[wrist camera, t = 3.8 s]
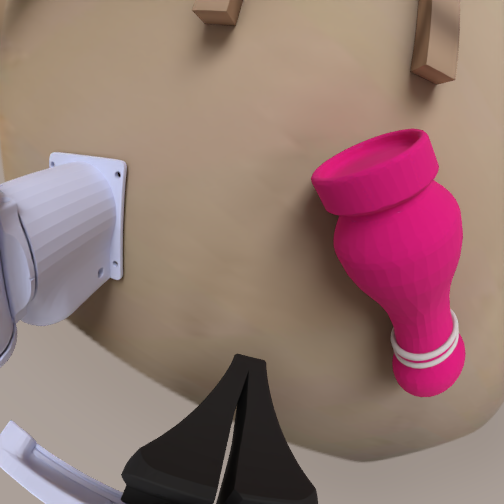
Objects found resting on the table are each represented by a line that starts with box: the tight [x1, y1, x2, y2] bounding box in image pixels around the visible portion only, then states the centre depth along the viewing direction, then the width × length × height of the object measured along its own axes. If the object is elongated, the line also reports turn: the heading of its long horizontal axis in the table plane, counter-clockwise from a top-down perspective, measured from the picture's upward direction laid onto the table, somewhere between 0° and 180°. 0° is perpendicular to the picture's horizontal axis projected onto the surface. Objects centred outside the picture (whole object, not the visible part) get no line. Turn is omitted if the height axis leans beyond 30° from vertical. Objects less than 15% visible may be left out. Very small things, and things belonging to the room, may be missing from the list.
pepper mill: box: [311, 129, 465, 397], centre depth 15 cm, size 7×7×20 cm
